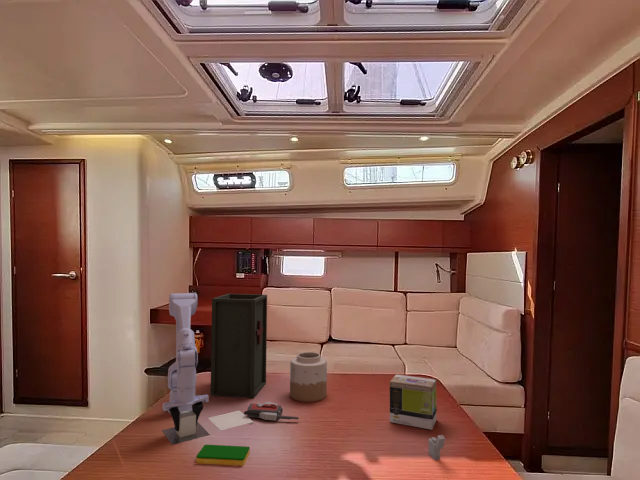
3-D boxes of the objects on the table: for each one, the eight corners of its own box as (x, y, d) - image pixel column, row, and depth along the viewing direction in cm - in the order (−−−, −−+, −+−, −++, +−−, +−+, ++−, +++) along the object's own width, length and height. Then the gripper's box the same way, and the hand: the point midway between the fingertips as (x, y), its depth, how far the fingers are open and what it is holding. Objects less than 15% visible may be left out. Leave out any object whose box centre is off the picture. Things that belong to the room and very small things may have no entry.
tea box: (437, 419, 147) (437, 378, 147) (432, 431, 138) (432, 387, 138) (395, 412, 153) (396, 372, 153) (388, 422, 144) (389, 380, 144)
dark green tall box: (226, 381, 186) (228, 293, 187) (266, 383, 183) (267, 294, 184) (210, 395, 168) (212, 298, 168) (253, 398, 165) (255, 299, 166)
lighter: (428, 453, 123) (428, 426, 123) (433, 452, 123) (433, 425, 123) (439, 465, 116) (439, 437, 116) (445, 465, 116) (445, 436, 116)
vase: (333, 393, 172) (333, 353, 172) (313, 405, 159) (313, 362, 160) (303, 386, 180) (304, 348, 181) (282, 397, 167) (283, 356, 168)
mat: (207, 419, 145) (207, 417, 145) (239, 411, 152) (239, 410, 152) (220, 432, 135) (220, 430, 135) (253, 423, 142) (253, 421, 142)
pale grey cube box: (175, 431, 134) (175, 413, 134) (190, 427, 137) (191, 409, 137) (180, 437, 130) (180, 418, 130) (195, 433, 133) (196, 414, 133)
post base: (161, 431, 135) (162, 418, 135) (197, 423, 142) (197, 410, 142) (172, 446, 125) (172, 431, 125) (209, 436, 132) (210, 422, 132)
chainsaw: (241, 419, 144) (298, 423, 142) (242, 406, 144) (298, 410, 142) (247, 410, 152) (300, 414, 151) (248, 398, 153) (301, 402, 151)
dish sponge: (243, 467, 115) (243, 458, 115) (195, 464, 116) (195, 456, 116) (249, 454, 122) (249, 446, 122) (204, 452, 123) (204, 444, 123)
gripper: (166, 394, 126) (166, 438, 126) (212, 385, 135) (211, 426, 134) (161, 387, 132) (160, 429, 132) (204, 379, 140) (204, 419, 140)
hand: (185, 427), depth 133 cm, fingers open, 5 cm apart
